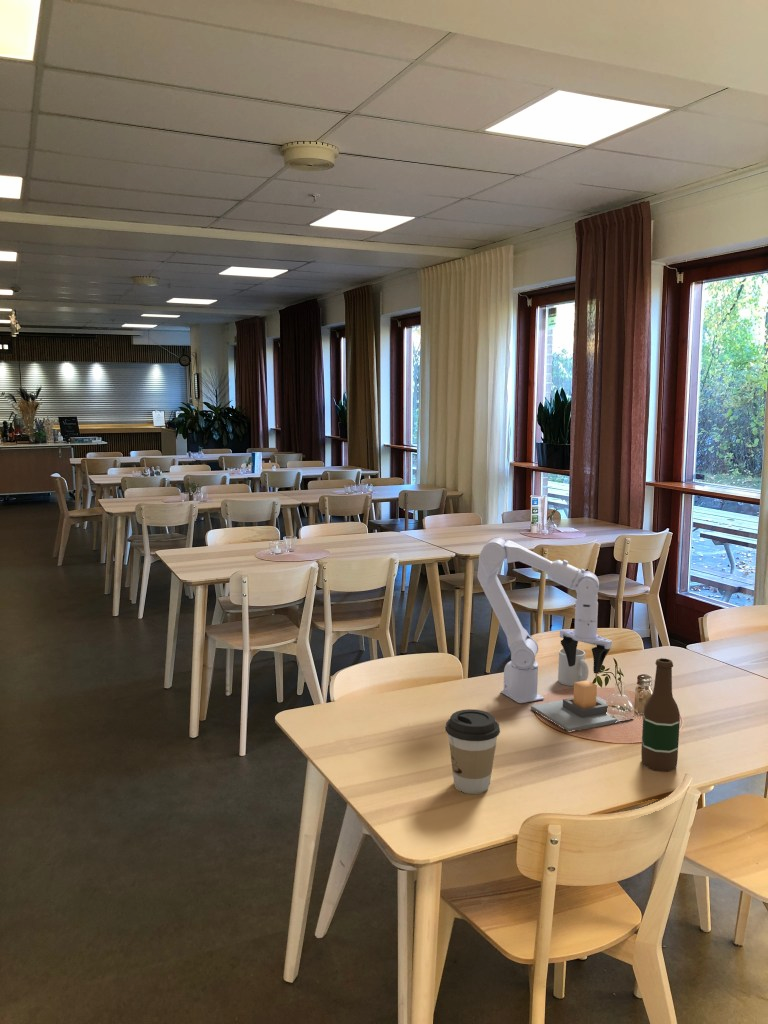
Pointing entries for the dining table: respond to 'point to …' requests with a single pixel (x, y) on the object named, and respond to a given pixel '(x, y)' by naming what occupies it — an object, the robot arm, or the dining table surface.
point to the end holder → (575, 714)
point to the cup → (572, 668)
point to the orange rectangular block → (585, 694)
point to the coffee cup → (472, 748)
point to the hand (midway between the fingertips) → (584, 669)
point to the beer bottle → (661, 722)
